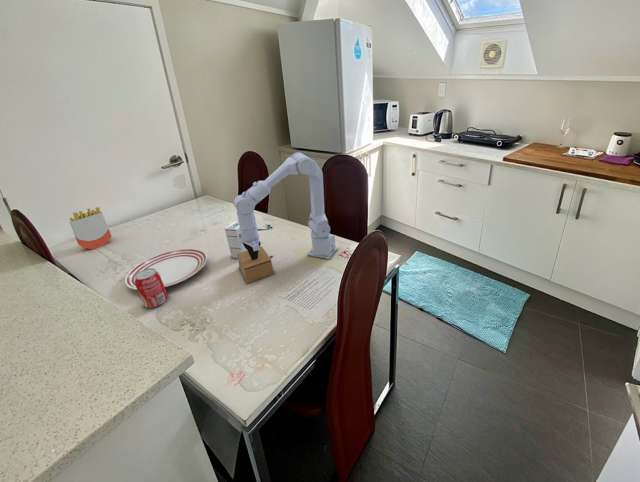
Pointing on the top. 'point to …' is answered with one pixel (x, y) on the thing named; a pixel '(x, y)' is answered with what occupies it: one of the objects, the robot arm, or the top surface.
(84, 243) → the french fries container
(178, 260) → the dinner plate
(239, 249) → the syrup box
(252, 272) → the bin
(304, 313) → the top surface
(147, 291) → the soda can
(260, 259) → the bin flap
